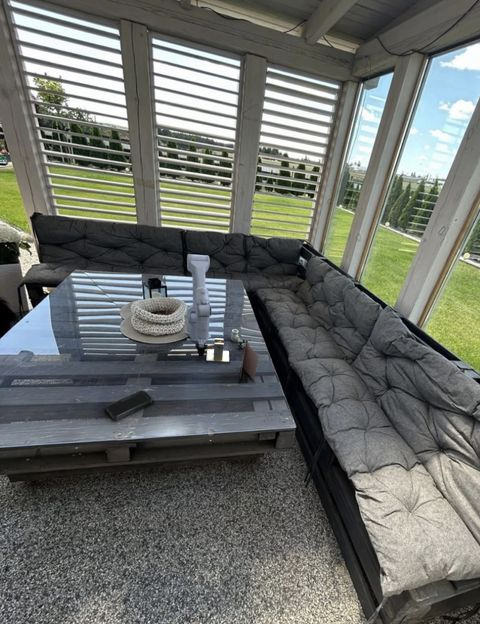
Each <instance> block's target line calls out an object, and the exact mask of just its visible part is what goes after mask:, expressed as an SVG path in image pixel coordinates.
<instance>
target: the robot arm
mask: <svg viewBox="0 0 480 624" xmlns="http://www.w3.org/2000/svg"><path fill="white" fill-rule="evenodd" d="M210 261H211V260H210V256H209V255H207V254H206V255H204V254H190V253H188V254H187V257H186V263H187V265H186V266H187V272H190V273H191V275H192V304H191V305H190V306H189V307H187V309H186V320H187V321H186V324H185V325H186V331H187V332H188V333H189V334H190V335H188V336H189V338H190V339H192V340H196V341H197V342H195V343H194V346H195V348H196V350H197V355H198V357H204V356H205V352H206V351H207V350H206V348H207V347H208V346H209V344H206V342H207V341H208V339H212V335H211V334H210V320H211V319H210V318H211V316H212V310H213V309H212V304H211V301H210V295H209V289H208V288H207V287H206V273H207V272H208V270H209V268H210V263H211V262H210ZM186 331H185V332H186Z"/></svg>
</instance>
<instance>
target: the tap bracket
mask: <svg viewBox="0 0 480 624" xmlns="http://www.w3.org/2000/svg"><path fill="white" fill-rule="evenodd" d="M220 340H221V342H222V343H216V342H217V341H220ZM224 342H225V339H224V338H218V337H216V338H214V344H213V345H214V347H213V349H207V350H206V362H214V363H215V362H217V363H230V351H229V350H224V346H225V343H224Z"/></svg>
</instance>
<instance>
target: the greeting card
mask: <svg viewBox="0 0 480 624" xmlns="http://www.w3.org/2000/svg"><path fill="white" fill-rule="evenodd" d="M247 343H248V342H247ZM247 343H245V348H244V346H242V347H243V350H242V358H241V359H242V360H241V362H242V363H241V367H240V371H239V378H241V377H242V371H243V369H244V371H245V372H246V373H247V375H249V377H250V378H251V380H252V381H255V378H256V372H257V368H258V363H259V357H260V356H259V354H258V353H256V351H255V350H254V349H253V348H252V347H251V346H250V344H249V343H248V344H249V345H248V344H247Z"/></svg>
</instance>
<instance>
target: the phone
mask: <svg viewBox="0 0 480 624" xmlns="http://www.w3.org/2000/svg"><path fill="white" fill-rule="evenodd" d="M152 403H153V398H152V397H151V396H150V395H149V394H148V393H147V392H146V391H145V390H139V391H137V392H135V393H133V394H130V395H128V396H126V397H123V398H121V399H118V400H116V401H114V402H110V403H109V404H107V405H106V406H104V407H105V411H106V412H107V414H108V415H109V416H110V417H111V419H112V420H113V421H118V420H121V419H123V418H124V417H126V416H129V415H131V414H132V413H134V412H135V413H136V411H139V410H142V409H143V408H146V407H147V406H150V405H151V404H152Z"/></svg>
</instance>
